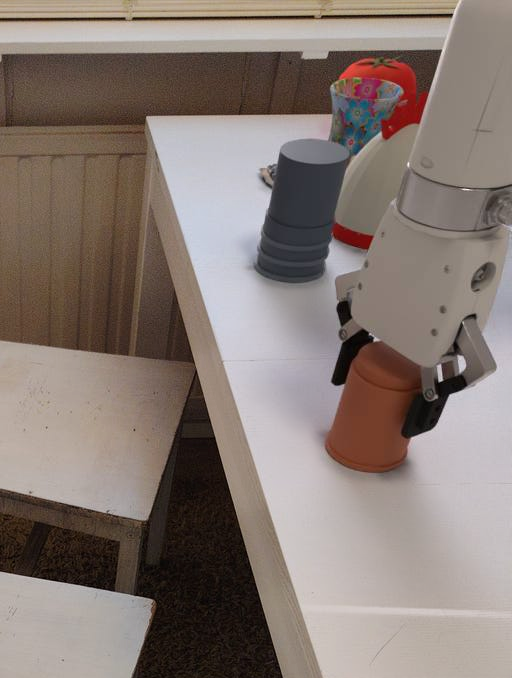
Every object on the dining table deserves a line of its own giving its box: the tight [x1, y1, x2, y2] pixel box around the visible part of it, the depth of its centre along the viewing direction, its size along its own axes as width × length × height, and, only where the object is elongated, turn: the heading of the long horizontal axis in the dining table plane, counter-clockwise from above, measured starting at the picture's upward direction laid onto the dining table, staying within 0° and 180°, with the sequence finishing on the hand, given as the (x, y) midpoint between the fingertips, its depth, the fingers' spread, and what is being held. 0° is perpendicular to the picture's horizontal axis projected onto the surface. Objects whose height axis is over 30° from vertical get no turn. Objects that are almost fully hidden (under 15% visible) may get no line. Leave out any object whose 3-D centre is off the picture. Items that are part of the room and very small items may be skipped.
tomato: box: [338, 54, 417, 127], centre depth 122 cm, size 12×12×10 cm
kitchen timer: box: [332, 90, 429, 250], centre depth 100 cm, size 14×14×15 cm
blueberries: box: [258, 163, 277, 188], centre depth 115 cm, size 7×8×2 cm
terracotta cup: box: [324, 340, 423, 473], centre depth 72 cm, size 7×7×9 cm
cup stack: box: [253, 138, 350, 284], centre depth 94 cm, size 8×8×13 cm
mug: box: [327, 78, 417, 169], centre depth 112 cm, size 12×9×11 cm
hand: (380, 405), depth 72 cm, fingers open, 8 cm apart
